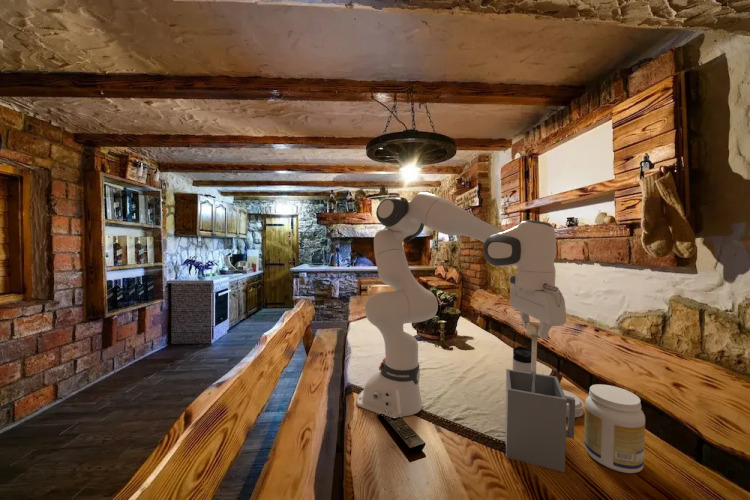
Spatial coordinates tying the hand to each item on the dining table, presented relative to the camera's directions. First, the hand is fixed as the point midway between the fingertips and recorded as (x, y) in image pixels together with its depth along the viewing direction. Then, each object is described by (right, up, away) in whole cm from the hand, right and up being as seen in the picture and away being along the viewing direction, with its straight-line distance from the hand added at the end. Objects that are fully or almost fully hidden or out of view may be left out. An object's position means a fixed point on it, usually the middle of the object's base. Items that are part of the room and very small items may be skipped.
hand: (534, 332), depth 80 cm
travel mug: (+7, -31, +20) cm, 38 cm away
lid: (+20, -31, +20) cm, 42 cm away
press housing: (+1, -32, +1) cm, 32 cm away
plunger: (0, -20, +1) cm, 20 cm away
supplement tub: (+19, -32, -2) cm, 37 cm away
